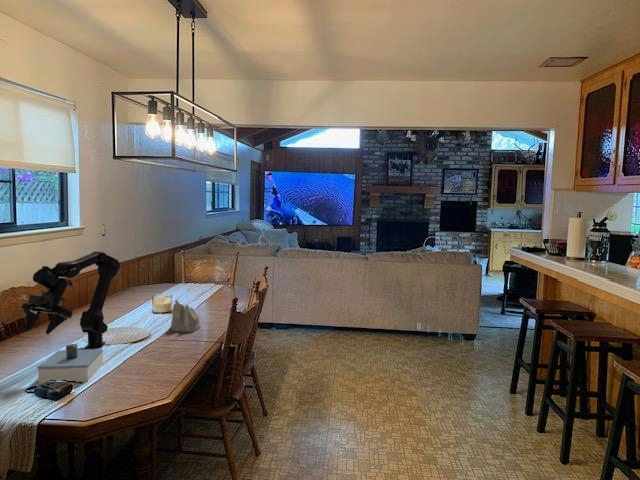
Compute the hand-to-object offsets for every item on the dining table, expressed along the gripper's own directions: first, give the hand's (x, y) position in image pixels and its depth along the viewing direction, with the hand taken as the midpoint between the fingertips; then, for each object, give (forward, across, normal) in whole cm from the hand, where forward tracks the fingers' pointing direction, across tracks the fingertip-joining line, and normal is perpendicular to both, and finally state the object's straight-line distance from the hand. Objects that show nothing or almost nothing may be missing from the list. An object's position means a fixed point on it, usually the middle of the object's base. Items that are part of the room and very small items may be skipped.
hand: (36, 332), depth 163 cm
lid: (+7, +13, +8) cm, 17 cm away
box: (+11, +13, +10) cm, 20 cm away
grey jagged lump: (-25, +22, +63) cm, 71 cm away
